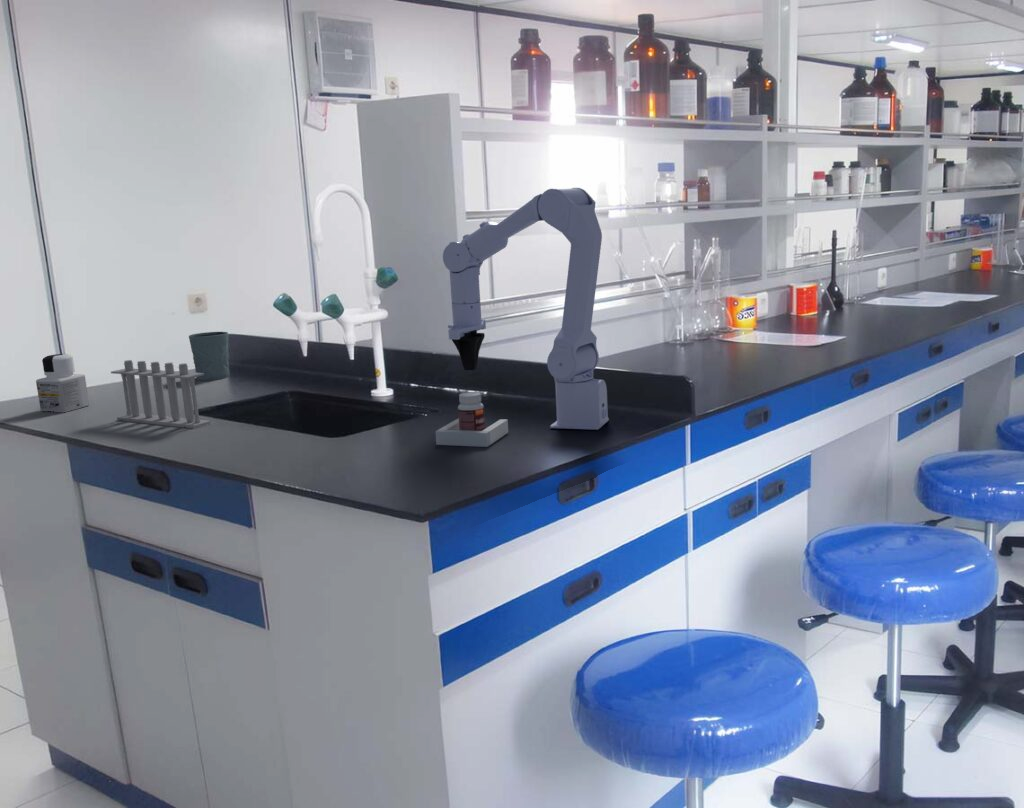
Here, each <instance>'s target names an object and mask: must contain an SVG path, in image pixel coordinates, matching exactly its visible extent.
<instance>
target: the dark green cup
mask: <svg viewBox="0 0 1024 808" xmlns="http://www.w3.org/2000/svg"><path fill="white" fill-rule="evenodd" d="M188 339H189V345H190V349H191V353H192V358H193V364H194V370H195V373H204V375H202V376H198V377H196V380H197V381H206V382H207V381H217V380H222V379H223V380H224V379H227V378H229V377H230V363H229V362H230V361H229V360H230V355H229V332H227V331H210V332H209V331H208V332H207V331H206V332H200V333H198V332H197V333H193V334H190V335H188Z"/></svg>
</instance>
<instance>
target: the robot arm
mask: <svg viewBox="0 0 1024 808" xmlns="http://www.w3.org/2000/svg"><path fill="white" fill-rule="evenodd" d="M541 221H544V222H545V223H546V224H548V226H549V225H550V226H551V227H552V228H554V229H556V230H557V231H558V232H560V233H562V235H563V236H564V237H565V238H566V239H567V240H568V242H569V243H570V250H569V251H570V252H569V261H568V268H567V269H568V270H567V278H566V285H565V286H566V288H565V297H564V305H563V314H562V323H561V329H560V330H559V332H558V333H557V335H556V336H555V338H554V340H553V346H552V348H551V351H550V352H549V354H548V356H547V361H546V363H547V364H546V365H547V369H548V372H549V373H550V375H551V376H552V377H553V379H554V384H555V385H554V386H555V406H556V421H555V422H553V423H552V424H551V425H549V428H550V429H562V430H564V429H568V430H570V429H571V430H593V431H594V430H595V431H596V430H597V431H598V430H599V429H601V428H602V427H604V425H605V424H606V423H608V421H609V420H610V418H609V416H608V415H609V413H608V411H609V410H608V390H607V389H608V388H607V384H606V381H605V380H604V379H597V378H594V370H595V369H596V368H597V366H598V363H599V359H600V356H599V352H598V348H597V336H596V334H595V333H594V332H593V331H592V324H593V323H592V322H593V313H594V308H595V307H594V306H595V297H596V289H597V283H598V282H597V281H598V275H599V274H598V273H599V264H600V257H601V256H600V255H601V250H602V248H601V247H602V239H603V233H602V229H601V226H600V223H599V219H598V217H597V214H596V200H594V198H593V197H592V196H591V195H590V193H588V192H587V191H586V190H585V189H583V188H581V187H572V188H549V189H546V190H545V191H543V192H542V193H539V194H537V195H535V196H533V198H532V199H531V200H529V201H528V202H526V203H525V204H523V206H521V207H519V208H518V209H517V210H515V211H514V212H513V213H511V214H509V215H508V216H507V217H505V218H504V219H503V220H502V221H500V222H499V223H498V222H496V221H483V222H481V223H480V224H479V228H478V229H477V230H475V231H473V232H472V233H470V234H464V235H463V236H462V240H461V241H450V242H449V244H448V245H446V247H444V250H443V252H442V261H443V264H444V266H445V268H446V269H447V270H449V281H450V296H451V297H450V298H451V311H452V313H451V314H452V323H449V324H448V325H447V328H448V340H451V342H452V343H453V344H454V347H456V350H457V351H458V354H459V356H460V360H461V363H462V367H463V369H464V371H475V370H476V369H477V366H478V360H479V354H480V349H481V346H482V343H483V341H484V339H485V336H486V335H485V332H479V331H481V330H486V329H487V325H486V319H482V309H481V308H482V305H481V292H480V291H481V290H480V276H481V271H480V270H481V267H482V265H483V263H484V262H485V261H487V259H489V258H491V257H492V256H494V255H496V254H497V253H499V252H500V251H502V250H503V249H505V248H506V247H507V246H508V243H509V239H510V238H511V237H512V236H515V235H516V234H518V233H520V232H521V231H523V230H525V229H527V228H529V227H531V226H533V225H534V224H536V223H539V222H541Z"/></svg>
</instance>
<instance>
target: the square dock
mask: <svg viewBox="0 0 1024 808" xmlns="http://www.w3.org/2000/svg"><path fill="white" fill-rule="evenodd" d="M508 421H509V419H503V418H502V419H501V418H500V419H498V420H497V421H495V422H494V423H492V424H490V425H489V426H487V427H485V429H484V430H483V431H470V430H459V417H457V418H456V419H454V420H453V421H451V422H449V423H448V424H446V425H444V426H443V427H440V428H438V429H437V430H436V431H435V443H436V444H435V445H436V446H456V447H457V446H458V447H461V446H462V447H477V448H478V447H484V448H487V447H490V446H491V445H492V444H494V443H495V442H497V441H498V440H500V439H501V438H503V437H504V436H505V435H507V434H508V433H509V422H508Z"/></svg>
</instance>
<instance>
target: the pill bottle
mask: <svg viewBox="0 0 1024 808" xmlns="http://www.w3.org/2000/svg"><path fill="white" fill-rule="evenodd" d="M458 397H459V400H458V401H459V405H457V413H458V415H457V416H458V417H457V418H459V430H470V431H483V430H484V429H486V425H485V423H486V422H485V420H486V419H485V406H484V404H483V403H482V394H481V392H477V391H467V392H462V393H459V394H458Z"/></svg>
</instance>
